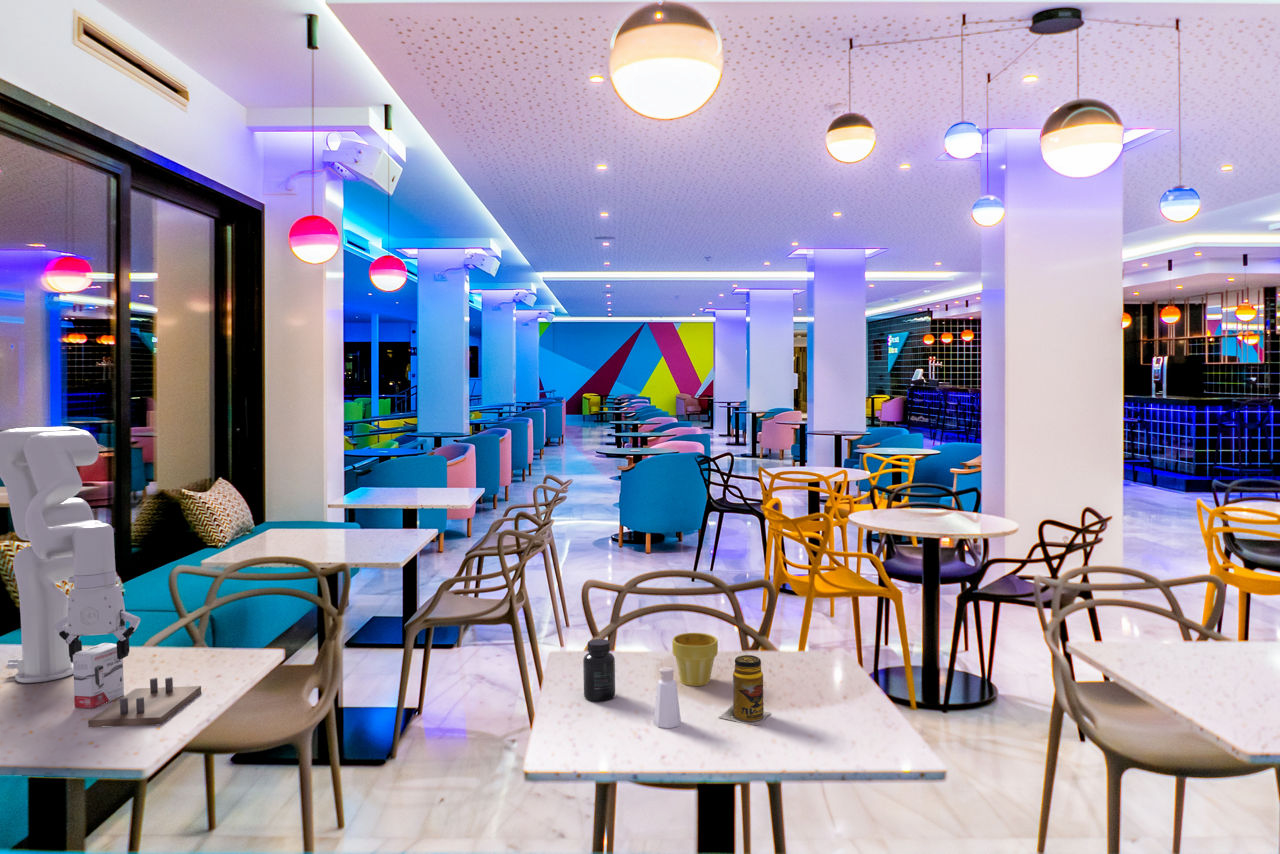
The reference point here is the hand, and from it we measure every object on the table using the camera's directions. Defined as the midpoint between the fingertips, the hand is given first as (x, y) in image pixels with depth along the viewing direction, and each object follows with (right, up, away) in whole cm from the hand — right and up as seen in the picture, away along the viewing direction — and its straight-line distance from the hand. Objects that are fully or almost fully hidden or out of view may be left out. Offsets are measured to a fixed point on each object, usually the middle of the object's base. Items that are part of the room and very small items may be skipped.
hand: (99, 658), depth 179 cm
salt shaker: (+123, -9, -16) cm, 125 cm away
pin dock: (+13, -10, -4) cm, 17 cm away
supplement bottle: (+109, -8, -1) cm, 109 cm away
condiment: (+139, -8, -12) cm, 140 cm away
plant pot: (+130, -8, +8) cm, 131 cm away
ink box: (0, -10, +1) cm, 10 cm away
